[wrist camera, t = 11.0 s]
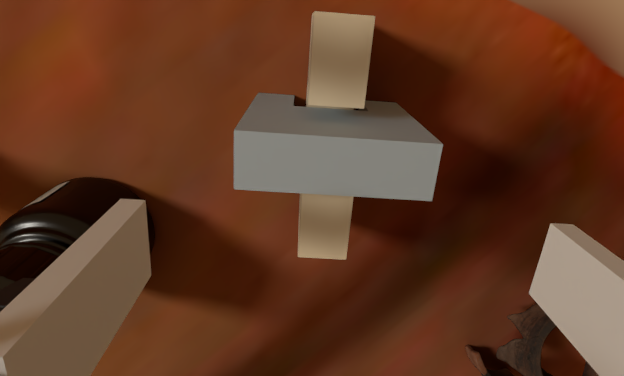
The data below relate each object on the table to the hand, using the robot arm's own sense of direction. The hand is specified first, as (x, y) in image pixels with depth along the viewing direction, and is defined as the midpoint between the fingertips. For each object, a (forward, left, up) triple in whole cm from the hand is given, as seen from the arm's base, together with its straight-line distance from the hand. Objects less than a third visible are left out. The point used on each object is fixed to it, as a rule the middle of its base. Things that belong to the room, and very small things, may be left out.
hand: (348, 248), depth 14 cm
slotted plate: (0, 0, -18) cm, 18 cm away
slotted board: (0, 0, -18) cm, 18 cm away
